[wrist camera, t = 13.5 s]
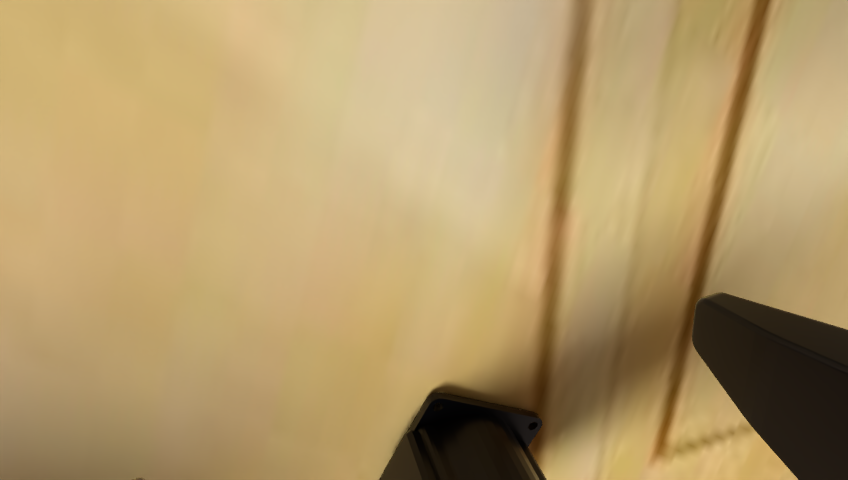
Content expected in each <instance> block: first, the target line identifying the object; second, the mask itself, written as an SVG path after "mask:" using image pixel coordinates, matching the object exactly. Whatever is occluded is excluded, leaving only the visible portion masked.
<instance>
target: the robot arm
mask: <svg viewBox="0 0 848 480" xmlns="http://www.w3.org/2000/svg"><path fill="white" fill-rule="evenodd" d="M692 341H693V344H694V347H695V349H696V351H697V352H698V354H699V355H700V356H701V358H702V359H703V360H704V362H705V363H706V365H707V366H708V367H709V369H710V370H711V372H712V373H713V374H714V376H715V377H716V378H717V380H718V381H719V383H720V384H721V385H722V387H723V388H724V390H725V391H726V392H727V394H728V395H729V396H730V398H731V399H732V401H733V402H734V403H735V405H736V406H737V408H738V409H739V410H740V412H741V413H742V414H743V416H744V417H745V418H746V419H747V421H748V422H749V423H750V425H751V426H752V427H753V428H754V429H755V431H756V432H757V433H758V434H759V435H760V436H761V438H762V439H763V440H764V441H765V442H766V443H767V444H768V446H769V447H770V448H771V449H772V450H773V451H774V452H775V453H776V455H777V456H778V457H779V458H780V459H781V460H782V461H783V463H784V464H785V465H786V466H787V467H788V468H789V469H790V470H791V472H792V473H793V474H794V475H795V476H796V477H797V478H798V480H848V330H847V329H843V328H840V327H836V326H833V325H830V324H826V323H823V322H820V321H816V320H813V319H810V318H806V317H803V316H799V315H796V314H793V313H789V312H786V311H783V310H779V309H776V308H773V307H769V306H766V305H763V304H759V303H756V302H752V301H749V300H746V299H742V298H739V297H736V296H732V295H729V294H726V293H716V294H712V295H709V296H706V297H703V298H700V299H699V300H698V301H697V303H696V305H695V312H694V321H693V330H692ZM437 403H439V404H438V405H435V404H437ZM541 426H542V421H541V419H540V418H539V416H538V414H537V413H534V412H530V411H525V410H520V409H516V408H511V407H506V406H501V405H497V404H492V403H487V402H483V401H478V400H473V399H468V398H464V397H459V396H454V395H449V394H445V393H433V394H431V395H430V396H429V397H428V398H427V399H426V401H425V402H424V404H423V406H422V407H421V409H420V411H419V413H418V414H417V416H416V418H415V420H414V421H413V423H412V425H411V427H410V428H409V430H408V432H407V433H406V434H405V435H404V437H403V439H402V440H401V442H400V444H399V446H398V447H397V449H396V451H395V453H394V454H393V456H392V458H391V460H390V461H389V463H388V465H387V466H386V468H385V470H384V473H383V475H382V477H381V479H380V480H546V478H545V476H544V474H543V473H542V471H541V469H540V467H539V466H538V464H537V462H536V460H535V459H534V457H533V455H532V453H531V452H530V450H529V448H528V446H529V444H530V443H531V441H532V440H533V438H534V437H535V435H536V434H537V432H538V431H539V429H540V428H541ZM133 480H145V479H144V478H136V479H133Z"/></svg>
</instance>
